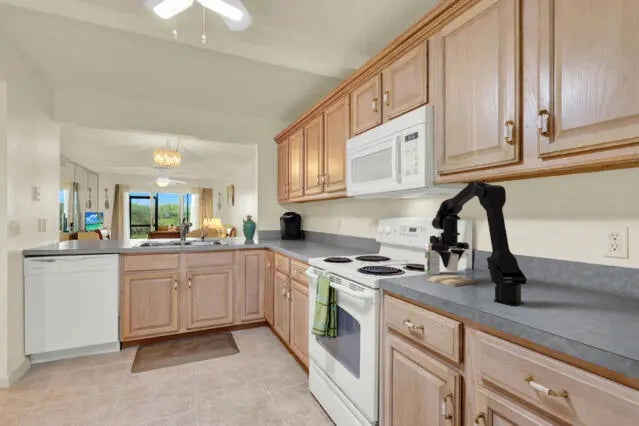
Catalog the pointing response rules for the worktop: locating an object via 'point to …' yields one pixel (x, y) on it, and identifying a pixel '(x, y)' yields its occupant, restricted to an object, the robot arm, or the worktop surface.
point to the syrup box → (431, 260)
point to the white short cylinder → (452, 263)
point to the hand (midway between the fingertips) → (450, 266)
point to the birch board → (450, 280)
